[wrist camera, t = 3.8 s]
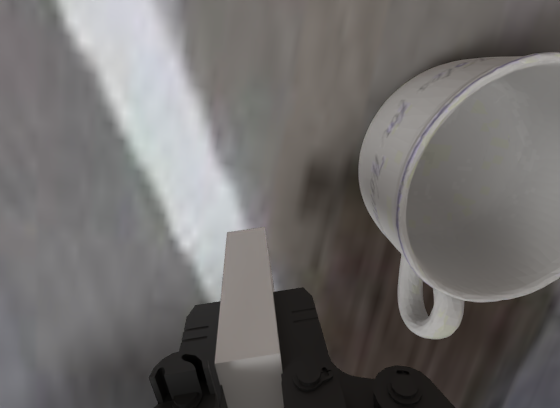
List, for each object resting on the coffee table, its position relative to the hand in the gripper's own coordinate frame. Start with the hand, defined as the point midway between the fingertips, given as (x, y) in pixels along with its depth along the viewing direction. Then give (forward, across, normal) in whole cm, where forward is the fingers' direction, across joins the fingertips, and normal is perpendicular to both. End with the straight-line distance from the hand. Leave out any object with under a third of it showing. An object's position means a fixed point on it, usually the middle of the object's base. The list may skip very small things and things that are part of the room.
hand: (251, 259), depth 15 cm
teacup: (+8, +10, 0) cm, 13 cm away
